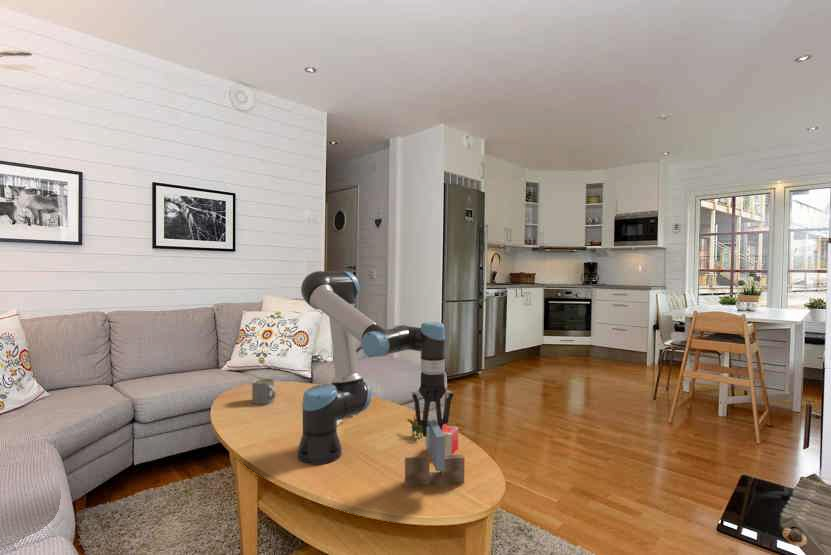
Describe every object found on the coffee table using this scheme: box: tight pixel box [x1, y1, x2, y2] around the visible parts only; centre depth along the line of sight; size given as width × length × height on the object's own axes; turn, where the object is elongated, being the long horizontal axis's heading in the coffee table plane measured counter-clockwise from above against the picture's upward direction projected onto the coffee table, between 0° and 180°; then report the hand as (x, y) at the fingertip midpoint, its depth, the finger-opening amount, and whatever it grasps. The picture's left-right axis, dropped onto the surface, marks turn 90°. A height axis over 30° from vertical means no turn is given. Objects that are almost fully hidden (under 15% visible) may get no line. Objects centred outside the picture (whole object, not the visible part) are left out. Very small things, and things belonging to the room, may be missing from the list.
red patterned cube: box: [442, 424, 459, 456], centre depth 157 cm, size 8×8×8 cm
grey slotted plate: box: [426, 416, 445, 472], centre depth 133 cm, size 2×16×10 cm, turn 9°
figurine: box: [406, 414, 423, 440], centre depth 171 cm, size 3×12×8 cm, turn 37°
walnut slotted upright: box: [404, 454, 466, 489], centre depth 134 cm, size 18×2×8 cm, turn 99°
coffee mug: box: [251, 378, 277, 405], centre depth 211 cm, size 13×10×10 cm
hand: (432, 445), depth 138 cm, fingers closed on grey slotted plate, 2 cm apart
